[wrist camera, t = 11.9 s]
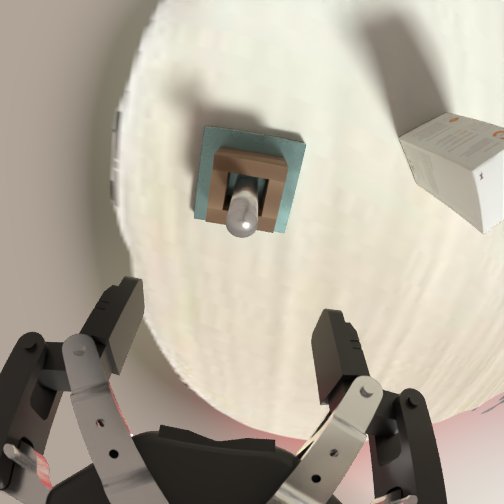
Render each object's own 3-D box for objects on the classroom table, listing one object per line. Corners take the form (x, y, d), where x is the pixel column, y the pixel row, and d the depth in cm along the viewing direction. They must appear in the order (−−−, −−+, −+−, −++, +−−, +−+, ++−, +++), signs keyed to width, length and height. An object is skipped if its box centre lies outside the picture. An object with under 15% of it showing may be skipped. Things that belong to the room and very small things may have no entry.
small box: (415, 184, 28) (482, 237, 17) (396, 136, 26) (471, 169, 15) (461, 157, 26) (534, 197, 15) (446, 110, 23) (526, 133, 12)
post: (206, 125, 26) (177, 142, 17) (304, 142, 27) (330, 168, 17) (195, 214, 31) (169, 270, 22) (283, 229, 32) (294, 290, 22)
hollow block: (220, 146, 26) (214, 154, 23) (284, 157, 27) (288, 167, 23) (211, 205, 30) (205, 221, 26) (271, 215, 30) (273, 232, 27)
